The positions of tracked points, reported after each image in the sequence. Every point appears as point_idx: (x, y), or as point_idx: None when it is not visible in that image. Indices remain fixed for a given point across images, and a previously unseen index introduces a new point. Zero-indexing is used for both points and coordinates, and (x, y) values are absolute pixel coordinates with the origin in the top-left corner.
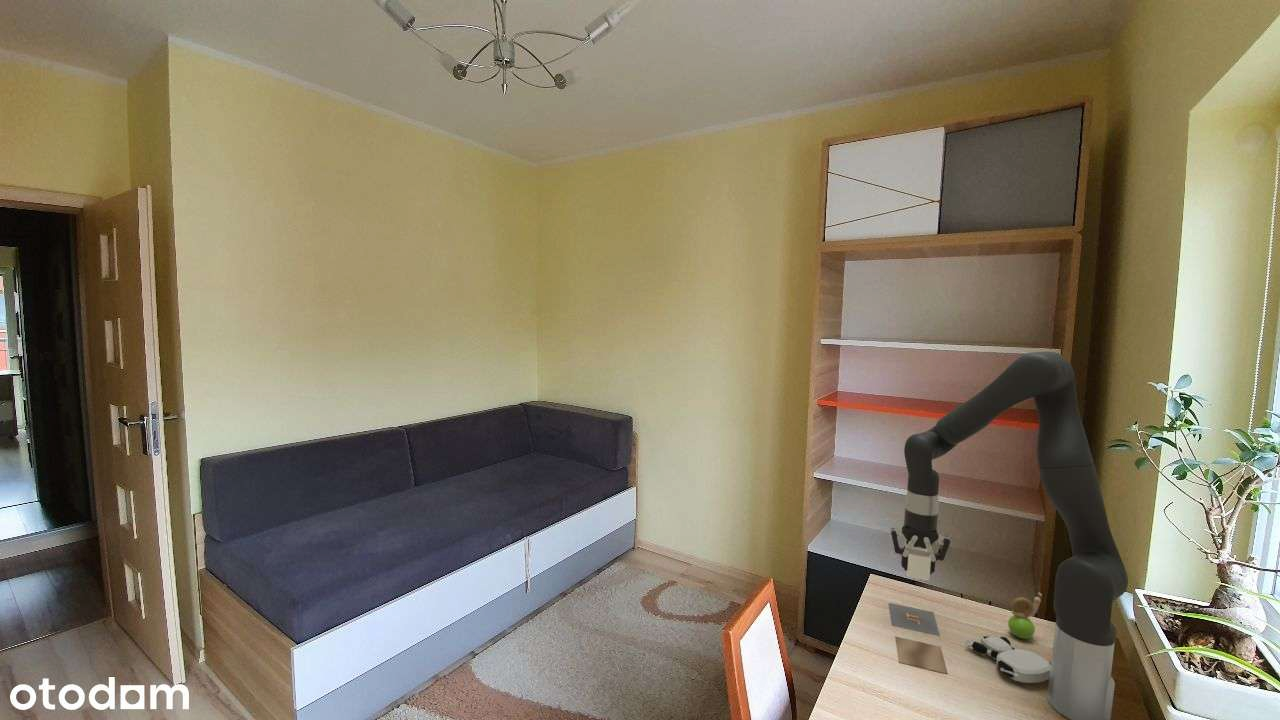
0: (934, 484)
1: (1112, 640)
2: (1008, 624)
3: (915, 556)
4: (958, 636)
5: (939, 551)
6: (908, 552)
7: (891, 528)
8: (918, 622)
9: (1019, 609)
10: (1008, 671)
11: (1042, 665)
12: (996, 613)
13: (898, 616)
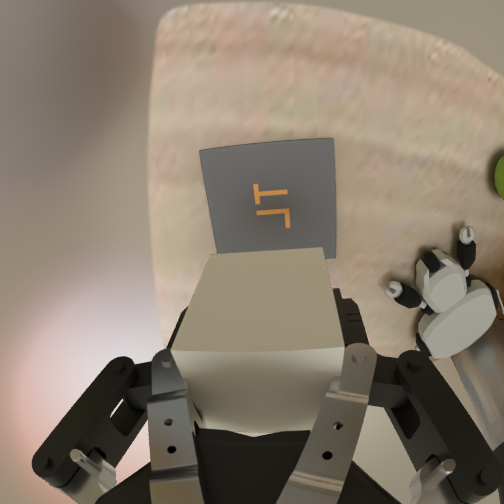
0: None
1: None
2: (499, 177)
3: (244, 428)
4: (381, 231)
5: (412, 395)
6: (200, 415)
7: (34, 469)
8: (286, 219)
9: None
10: None
11: (481, 332)
12: (482, 78)
13: (232, 214)
